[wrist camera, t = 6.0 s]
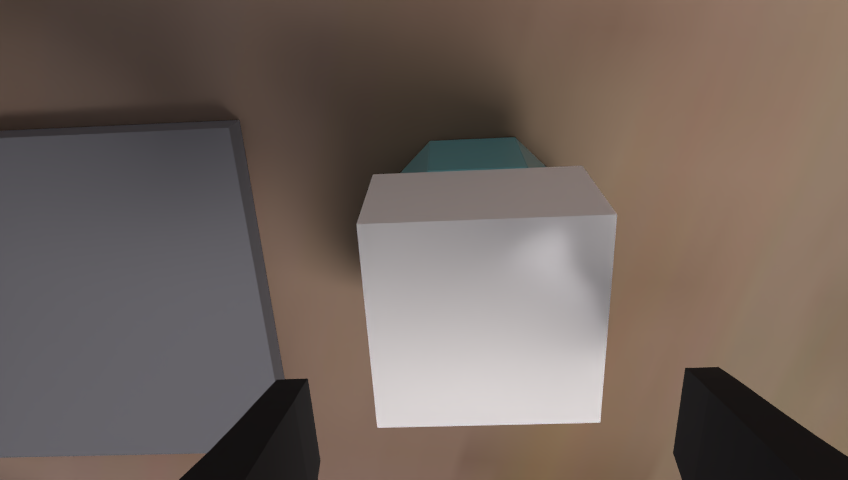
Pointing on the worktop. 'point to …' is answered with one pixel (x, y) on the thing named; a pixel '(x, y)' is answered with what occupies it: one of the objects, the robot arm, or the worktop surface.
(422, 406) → the white block
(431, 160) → the bowl
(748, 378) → the worktop surface
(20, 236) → the mat
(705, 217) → the worktop surface
